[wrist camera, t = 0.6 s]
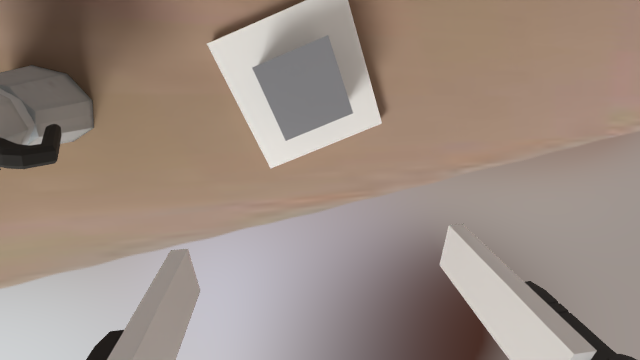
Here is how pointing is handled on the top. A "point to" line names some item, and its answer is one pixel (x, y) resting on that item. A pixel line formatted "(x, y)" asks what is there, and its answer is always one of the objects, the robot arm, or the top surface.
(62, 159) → the top surface
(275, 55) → the tower base
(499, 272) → the robot arm
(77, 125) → the coffee maker
